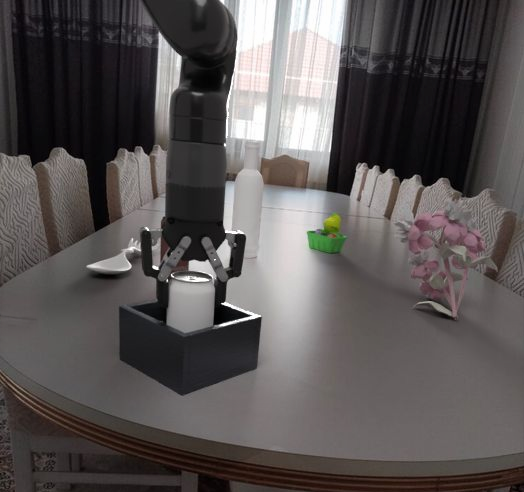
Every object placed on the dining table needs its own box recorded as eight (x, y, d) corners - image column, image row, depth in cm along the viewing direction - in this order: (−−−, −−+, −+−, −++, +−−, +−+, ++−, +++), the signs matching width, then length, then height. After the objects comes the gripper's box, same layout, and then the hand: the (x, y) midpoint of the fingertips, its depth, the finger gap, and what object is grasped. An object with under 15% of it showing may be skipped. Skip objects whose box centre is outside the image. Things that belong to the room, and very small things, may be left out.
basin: (181, 395, 66) (184, 337, 63) (119, 359, 74) (118, 306, 71) (257, 368, 76) (262, 316, 73) (194, 338, 84) (196, 291, 81)
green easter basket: (303, 247, 165) (307, 210, 161) (321, 245, 171) (326, 210, 166) (330, 254, 157) (335, 216, 153) (348, 252, 163) (354, 216, 159)
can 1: (160, 286, 110) (161, 219, 105) (159, 278, 116) (160, 214, 110) (189, 287, 111) (191, 221, 106) (186, 279, 117) (189, 216, 112)
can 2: (209, 348, 78) (213, 271, 73) (212, 366, 72) (218, 283, 68) (165, 348, 77) (167, 268, 72) (165, 366, 71) (167, 281, 66)
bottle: (247, 259, 141) (257, 141, 130) (224, 254, 144) (231, 138, 133) (263, 255, 147) (273, 142, 136) (240, 250, 151) (248, 140, 140)
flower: (523, 311, 111) (505, 197, 111) (481, 319, 95) (460, 185, 95) (436, 325, 126) (420, 223, 126) (387, 333, 110) (368, 217, 110)
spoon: (163, 253, 139) (164, 240, 138) (120, 282, 110) (120, 266, 108) (131, 249, 140) (131, 236, 139) (79, 277, 110) (78, 261, 109)
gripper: (243, 181, 71) (234, 298, 77) (135, 173, 66) (135, 298, 73) (258, 187, 64) (248, 314, 70) (140, 179, 60) (140, 315, 66)
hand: (190, 305), depth 72 cm, fingers open, 6 cm apart
